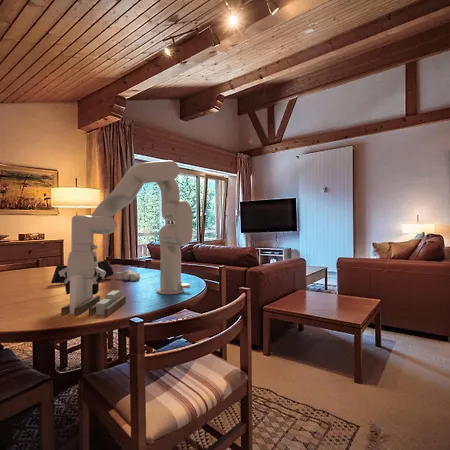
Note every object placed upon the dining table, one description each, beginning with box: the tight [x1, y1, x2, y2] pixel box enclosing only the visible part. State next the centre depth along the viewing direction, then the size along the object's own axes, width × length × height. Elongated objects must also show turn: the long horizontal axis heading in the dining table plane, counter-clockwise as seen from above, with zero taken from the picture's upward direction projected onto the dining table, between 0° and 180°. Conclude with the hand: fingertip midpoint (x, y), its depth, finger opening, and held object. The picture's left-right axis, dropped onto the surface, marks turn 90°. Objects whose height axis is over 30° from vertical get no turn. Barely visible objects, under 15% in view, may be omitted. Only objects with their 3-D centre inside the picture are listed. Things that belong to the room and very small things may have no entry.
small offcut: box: [95, 298, 111, 316], centre depth 108 cm, size 3×6×4 cm, turn 0°
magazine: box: [50, 258, 114, 284], centre depth 160 cm, size 17×3×30 cm
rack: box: [60, 294, 127, 317], centre depth 112 cm, size 16×18×2 cm
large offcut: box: [105, 290, 121, 304], centre depth 117 cm, size 3×7×5 cm, turn 0°
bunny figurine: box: [115, 269, 141, 282], centre depth 168 cm, size 10×5×15 cm
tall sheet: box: [69, 275, 94, 315], centre depth 112 cm, size 2×14×13 cm, turn 0°
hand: (82, 293), depth 112 cm, fingers open, 9 cm apart
